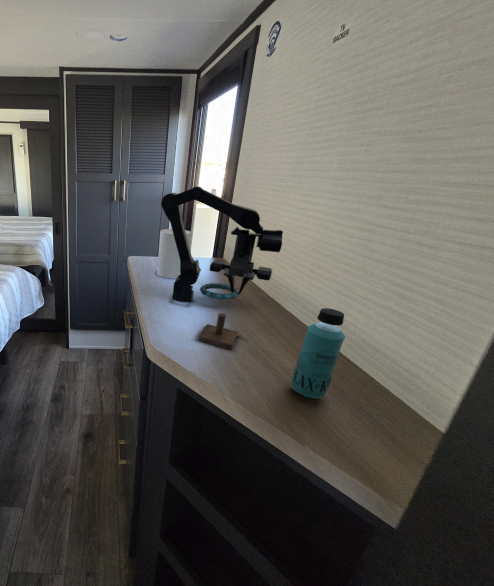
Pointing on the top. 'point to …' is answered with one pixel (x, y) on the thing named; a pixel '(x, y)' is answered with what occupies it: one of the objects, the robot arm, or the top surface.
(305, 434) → the top surface
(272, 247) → the robot arm
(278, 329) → the top surface
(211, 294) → the teal ring
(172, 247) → the canister
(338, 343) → the beverage bottle
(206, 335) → the peg stand
